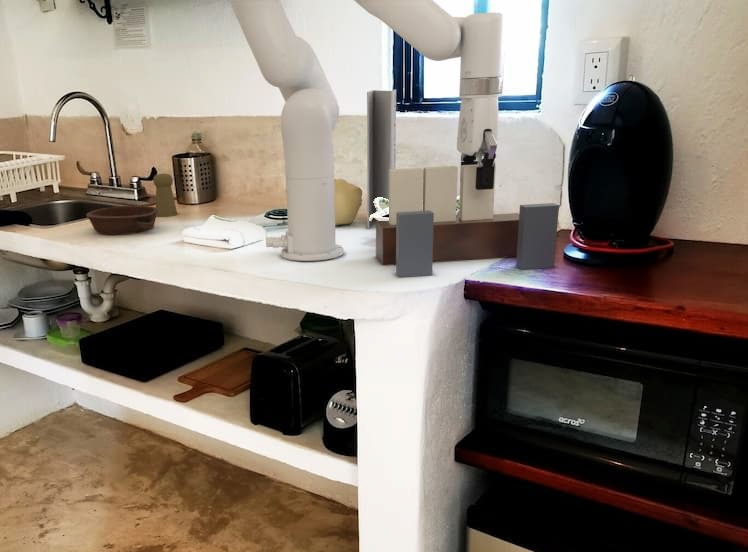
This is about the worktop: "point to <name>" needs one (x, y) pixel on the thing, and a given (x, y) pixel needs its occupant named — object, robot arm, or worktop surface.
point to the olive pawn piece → (164, 195)
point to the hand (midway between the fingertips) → (476, 185)
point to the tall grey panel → (380, 144)
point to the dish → (123, 219)
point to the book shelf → (459, 239)
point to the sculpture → (346, 201)
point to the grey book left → (414, 243)
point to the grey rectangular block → (537, 235)
